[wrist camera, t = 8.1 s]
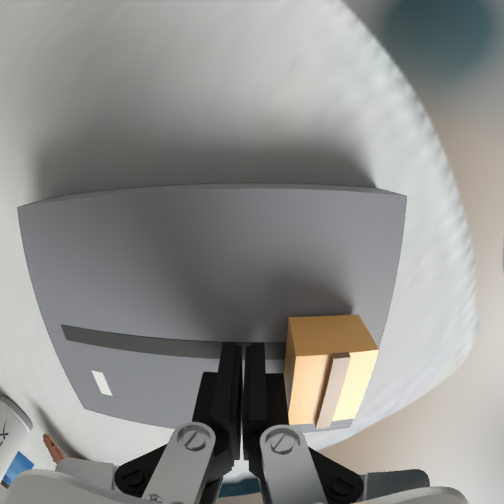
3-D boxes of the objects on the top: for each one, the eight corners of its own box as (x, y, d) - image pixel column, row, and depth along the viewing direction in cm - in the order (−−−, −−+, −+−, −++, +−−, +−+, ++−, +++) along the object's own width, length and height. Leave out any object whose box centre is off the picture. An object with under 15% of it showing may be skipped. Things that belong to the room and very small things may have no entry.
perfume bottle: (34, 464, 30) (17, 496, 19) (26, 461, 31) (10, 491, 20) (14, 447, 29) (-4, 479, 17) (8, 445, 30) (-9, 475, 18)
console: (50, 197, 13) (16, 207, 10) (377, 188, 12) (407, 195, 9) (99, 382, 17) (84, 408, 14) (340, 395, 17) (349, 427, 14)
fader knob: (288, 315, 11) (297, 361, 8) (358, 313, 11) (382, 353, 8) (282, 386, 12) (287, 431, 9) (342, 382, 12) (355, 423, 9)
